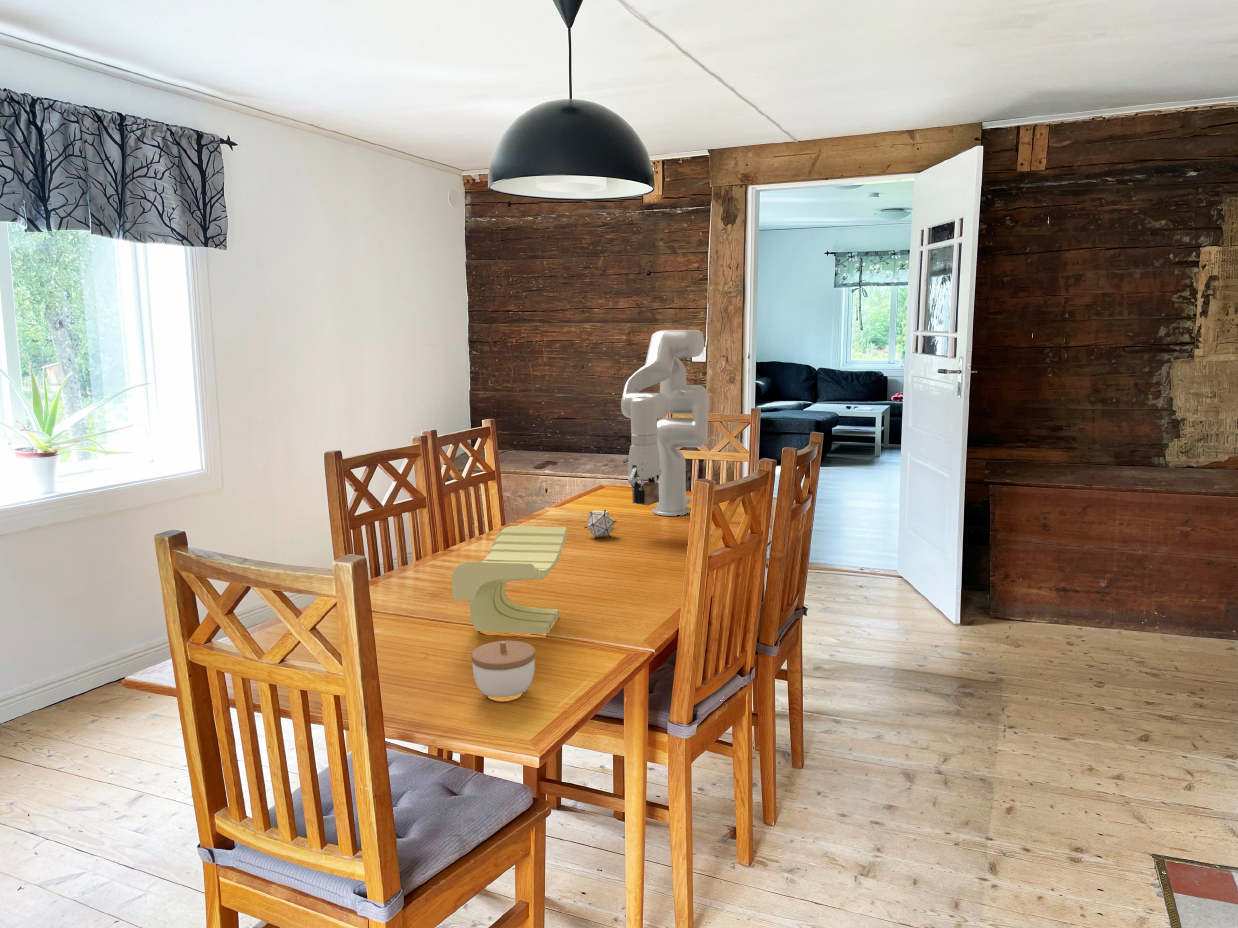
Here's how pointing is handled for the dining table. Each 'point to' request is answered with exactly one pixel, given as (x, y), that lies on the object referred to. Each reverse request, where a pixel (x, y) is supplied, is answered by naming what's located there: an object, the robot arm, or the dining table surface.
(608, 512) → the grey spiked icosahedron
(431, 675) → the dining table surface
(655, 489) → the walnut block
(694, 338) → the robot arm
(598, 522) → the game die
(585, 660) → the dining table surface
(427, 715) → the dining table surface
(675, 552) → the dining table surface
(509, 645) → the lidded jar
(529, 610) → the slatted curved stool
